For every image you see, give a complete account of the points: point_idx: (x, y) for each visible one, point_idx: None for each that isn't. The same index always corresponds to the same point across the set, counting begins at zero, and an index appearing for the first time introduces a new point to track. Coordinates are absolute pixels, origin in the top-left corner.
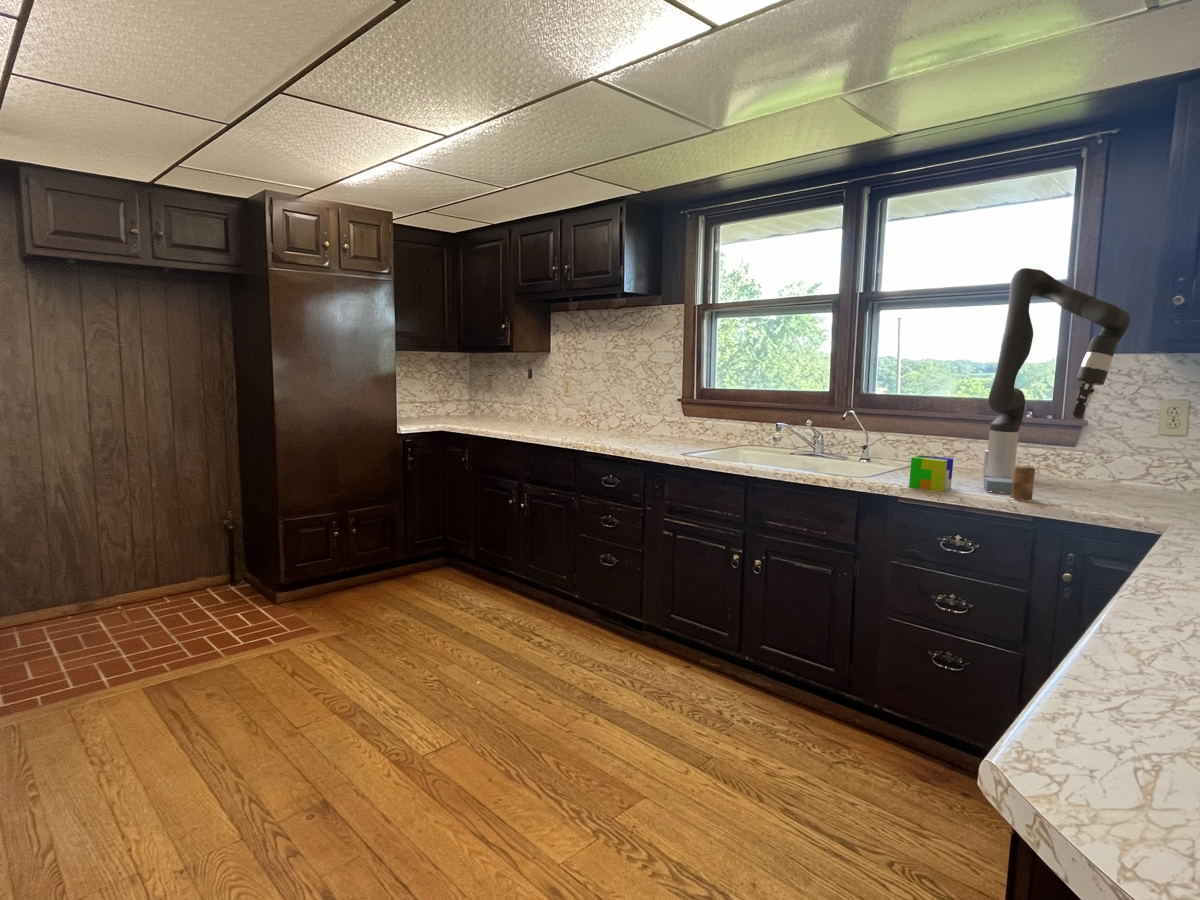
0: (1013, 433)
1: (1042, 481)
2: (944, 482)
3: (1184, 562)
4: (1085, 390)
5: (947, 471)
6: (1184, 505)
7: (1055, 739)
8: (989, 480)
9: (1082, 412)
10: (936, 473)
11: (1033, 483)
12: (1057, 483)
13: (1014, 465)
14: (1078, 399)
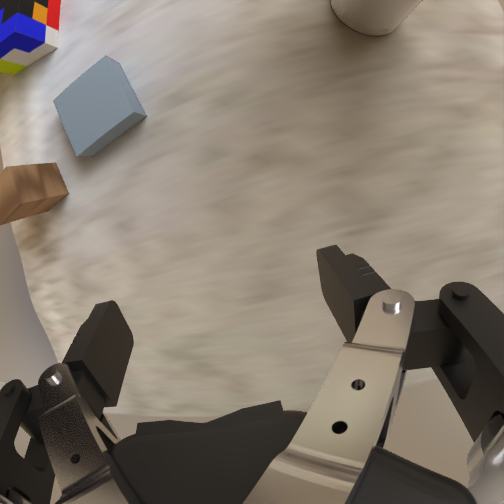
0: None
1: (405, 101)
2: (12, 65)
3: None
4: (16, 497)
5: (7, 55)
6: (298, 403)
7: None
8: (60, 98)
9: (337, 318)
10: None
11: (23, 217)
12: (407, 139)
13: (4, 170)
14: (7, 397)
